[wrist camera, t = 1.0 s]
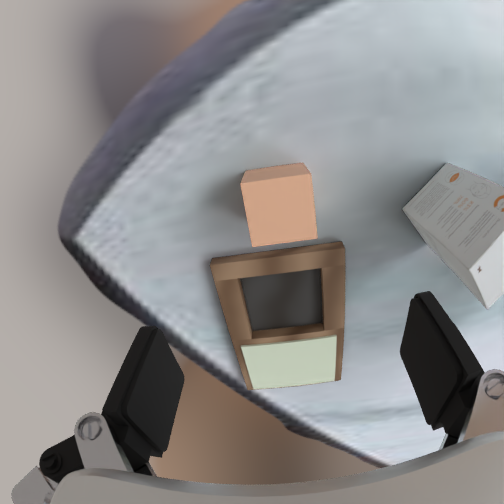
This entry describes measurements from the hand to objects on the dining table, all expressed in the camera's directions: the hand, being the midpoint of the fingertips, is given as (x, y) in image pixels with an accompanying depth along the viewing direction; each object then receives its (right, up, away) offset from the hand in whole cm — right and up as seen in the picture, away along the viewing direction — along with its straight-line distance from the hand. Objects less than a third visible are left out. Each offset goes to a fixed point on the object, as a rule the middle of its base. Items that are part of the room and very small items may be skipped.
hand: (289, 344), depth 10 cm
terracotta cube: (+1, +9, +17) cm, 20 cm away
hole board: (+3, -6, +25) cm, 26 cm away
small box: (+19, +9, +17) cm, 27 cm away
